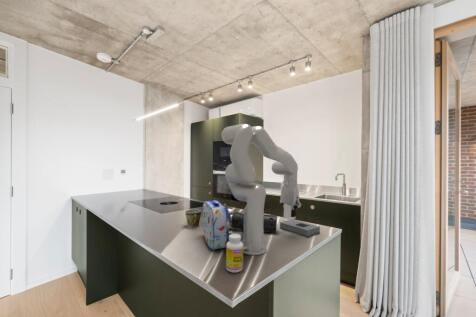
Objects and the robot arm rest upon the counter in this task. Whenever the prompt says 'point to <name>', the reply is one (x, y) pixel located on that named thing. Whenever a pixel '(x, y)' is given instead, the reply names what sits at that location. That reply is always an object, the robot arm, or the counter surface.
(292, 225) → the outlet box
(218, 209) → the lunch box
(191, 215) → the olive green tapered container
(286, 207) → the charger
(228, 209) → the spread jar
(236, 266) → the supplement bottle
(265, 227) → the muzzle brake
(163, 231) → the counter surface
